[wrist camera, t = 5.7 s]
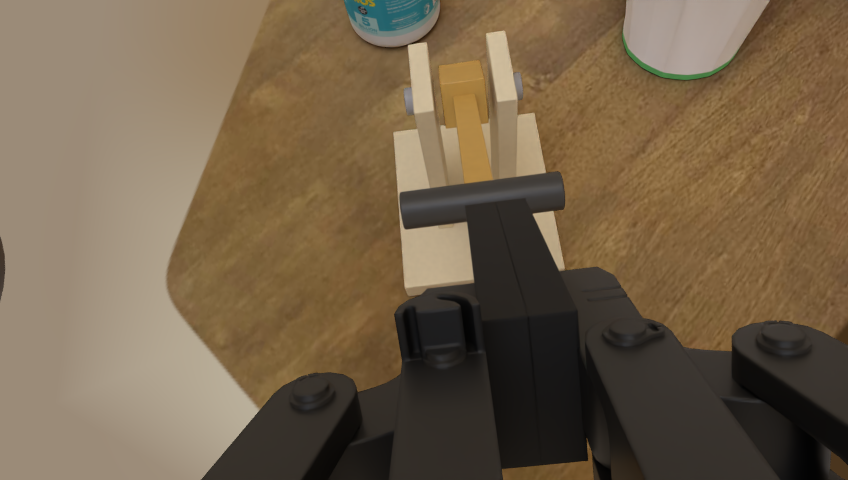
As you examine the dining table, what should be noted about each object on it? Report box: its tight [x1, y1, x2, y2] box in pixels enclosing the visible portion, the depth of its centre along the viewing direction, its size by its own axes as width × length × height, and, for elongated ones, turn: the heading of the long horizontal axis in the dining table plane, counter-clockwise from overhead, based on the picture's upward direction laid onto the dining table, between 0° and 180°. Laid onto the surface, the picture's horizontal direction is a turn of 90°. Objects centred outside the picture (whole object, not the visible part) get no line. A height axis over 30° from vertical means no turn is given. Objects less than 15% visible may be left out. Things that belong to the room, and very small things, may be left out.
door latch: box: [393, 31, 565, 296], centre depth 38 cm, size 12×10×14 cm
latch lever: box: [399, 60, 565, 230], centre depth 29 cm, size 13×6×2 cm, turn 5°
